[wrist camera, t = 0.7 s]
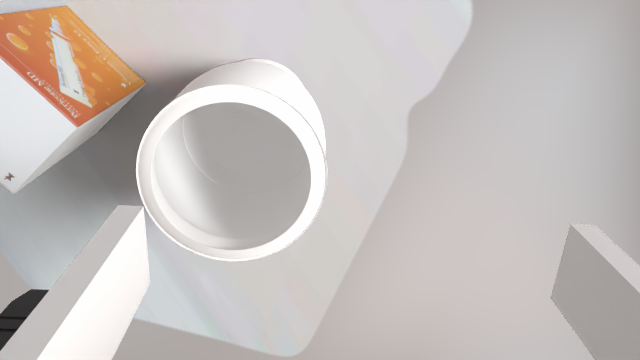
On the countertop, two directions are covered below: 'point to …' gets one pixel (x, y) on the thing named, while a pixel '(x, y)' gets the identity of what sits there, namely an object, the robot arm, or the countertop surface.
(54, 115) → the small box
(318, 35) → the countertop surface
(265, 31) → the countertop surface
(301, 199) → the jar
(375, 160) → the countertop surface
